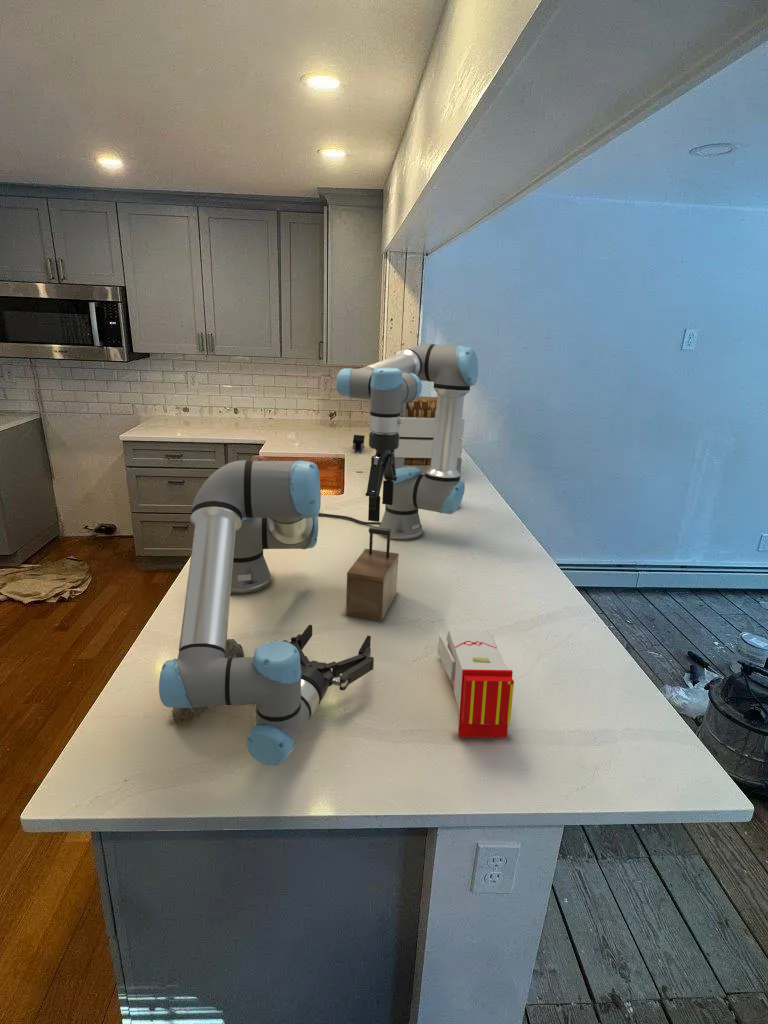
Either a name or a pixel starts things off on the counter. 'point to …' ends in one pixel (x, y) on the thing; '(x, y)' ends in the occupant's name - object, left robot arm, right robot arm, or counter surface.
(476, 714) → the toy
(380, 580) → the lid
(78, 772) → the counter surface
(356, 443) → the figurine character
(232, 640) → the fossil
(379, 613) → the chest
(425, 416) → the white wooden crate
